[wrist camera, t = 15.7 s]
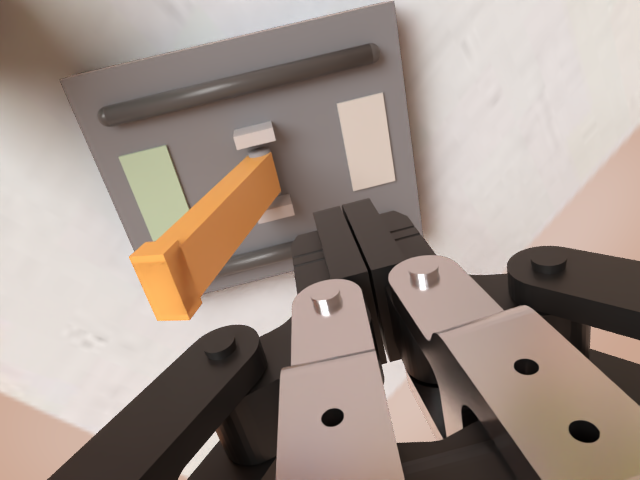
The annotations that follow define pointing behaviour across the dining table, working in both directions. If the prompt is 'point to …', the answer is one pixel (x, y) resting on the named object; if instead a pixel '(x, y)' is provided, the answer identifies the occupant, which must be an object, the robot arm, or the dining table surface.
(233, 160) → the breaker panel
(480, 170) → the dining table surface
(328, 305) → the robot arm
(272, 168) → the breaker lever
